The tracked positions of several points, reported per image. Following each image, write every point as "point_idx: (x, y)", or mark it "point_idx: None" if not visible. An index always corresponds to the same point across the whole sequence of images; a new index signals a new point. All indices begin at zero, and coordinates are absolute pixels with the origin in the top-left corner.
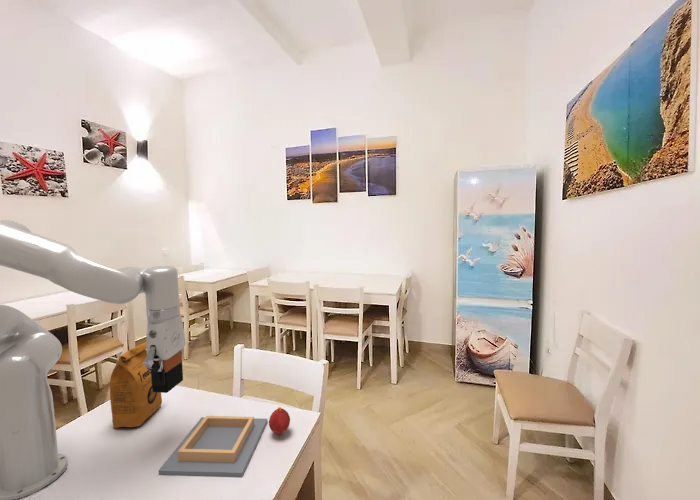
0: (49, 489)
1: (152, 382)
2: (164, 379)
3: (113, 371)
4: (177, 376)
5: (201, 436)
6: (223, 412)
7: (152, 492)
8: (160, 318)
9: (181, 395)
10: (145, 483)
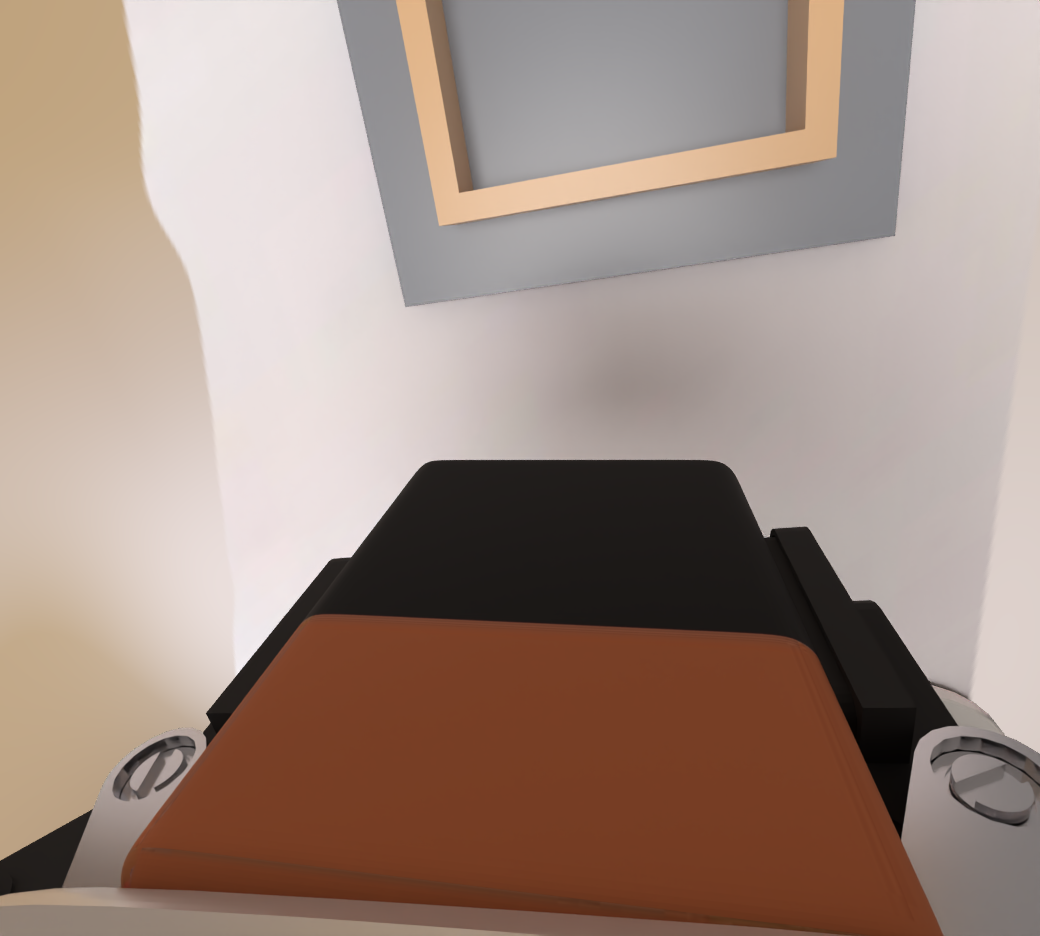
0: (947, 662)
1: None
2: (812, 571)
3: None
4: (510, 505)
5: (574, 170)
6: (303, 207)
7: (1029, 164)
8: None
9: (262, 566)
10: (949, 263)
